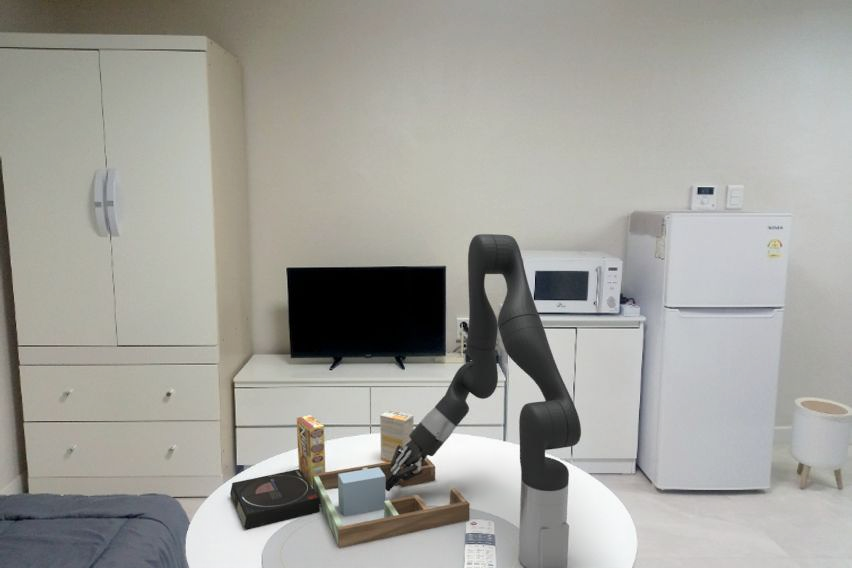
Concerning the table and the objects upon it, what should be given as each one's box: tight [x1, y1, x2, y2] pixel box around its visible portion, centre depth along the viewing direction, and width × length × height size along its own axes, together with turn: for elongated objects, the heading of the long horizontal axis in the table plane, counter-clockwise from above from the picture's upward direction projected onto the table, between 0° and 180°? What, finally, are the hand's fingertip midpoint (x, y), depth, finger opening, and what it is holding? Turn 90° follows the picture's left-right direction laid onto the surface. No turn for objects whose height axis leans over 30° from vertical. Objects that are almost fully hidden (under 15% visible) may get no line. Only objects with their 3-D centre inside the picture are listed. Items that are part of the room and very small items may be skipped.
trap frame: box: [312, 456, 471, 549], centre depth 147 cm, size 27×30×4 cm
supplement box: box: [379, 409, 415, 462], centre depth 170 cm, size 8×5×13 cm, turn 58°
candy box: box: [296, 414, 326, 487], centre depth 159 cm, size 9×4×15 cm, turn 34°
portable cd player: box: [229, 468, 321, 531], centre depth 147 cm, size 16×17×4 cm
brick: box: [337, 467, 387, 517], centre depth 145 cm, size 5×10×8 cm, turn 112°
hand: (384, 487), depth 147 cm, fingers closed
